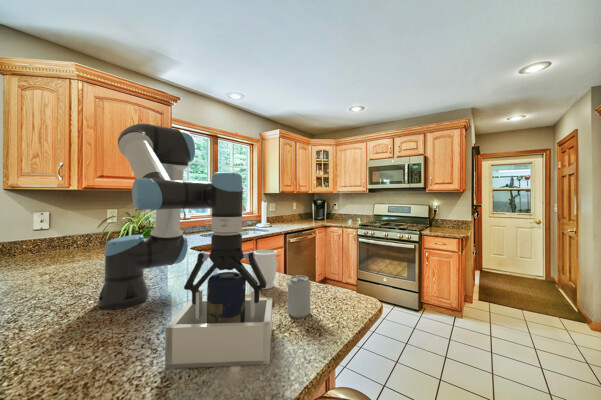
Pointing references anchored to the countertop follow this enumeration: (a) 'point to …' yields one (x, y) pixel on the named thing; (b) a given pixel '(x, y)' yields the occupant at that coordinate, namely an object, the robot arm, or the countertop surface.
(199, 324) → the open box
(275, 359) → the countertop surface
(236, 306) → the canister
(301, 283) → the can
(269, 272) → the jar
